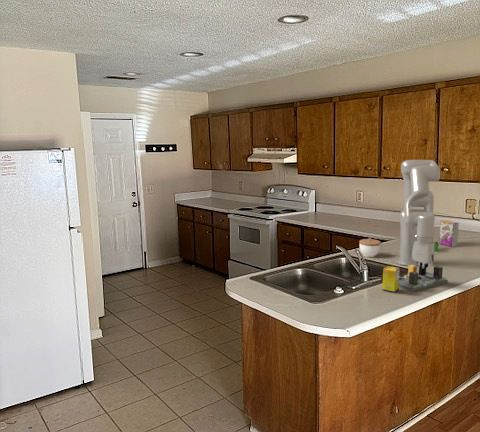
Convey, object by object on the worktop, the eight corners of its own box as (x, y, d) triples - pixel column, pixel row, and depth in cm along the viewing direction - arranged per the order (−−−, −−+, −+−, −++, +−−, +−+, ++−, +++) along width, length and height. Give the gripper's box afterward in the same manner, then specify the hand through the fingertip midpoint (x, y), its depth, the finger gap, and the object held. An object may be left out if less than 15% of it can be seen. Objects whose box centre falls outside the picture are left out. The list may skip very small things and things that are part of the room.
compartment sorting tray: (424, 275, 234) (425, 260, 233) (447, 282, 222) (448, 267, 221) (389, 283, 222) (390, 268, 221) (412, 291, 210) (413, 275, 209)
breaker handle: (411, 276, 227) (412, 264, 226) (416, 278, 225) (417, 265, 224) (407, 277, 226) (408, 265, 225) (412, 278, 223) (413, 266, 222)
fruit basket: (419, 251, 282) (420, 234, 280) (418, 247, 291) (419, 231, 289) (438, 252, 279) (440, 235, 277) (437, 249, 287) (438, 232, 285)
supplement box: (386, 287, 217) (387, 265, 215) (398, 289, 213) (400, 268, 211) (381, 290, 212) (382, 268, 210) (394, 293, 208) (395, 270, 206)
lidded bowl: (354, 254, 276) (355, 237, 274) (369, 252, 282) (370, 235, 280) (368, 259, 265) (369, 241, 263) (384, 256, 271) (385, 239, 269)
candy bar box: (438, 243, 301) (440, 220, 299) (443, 242, 303) (445, 219, 300) (451, 247, 291) (453, 223, 288) (457, 246, 293) (459, 222, 290)
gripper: (406, 237, 221) (404, 272, 225) (432, 243, 208) (429, 280, 212) (417, 235, 225) (414, 269, 228) (443, 241, 212) (440, 278, 216)
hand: (422, 275), depth 220 cm, fingers closed
